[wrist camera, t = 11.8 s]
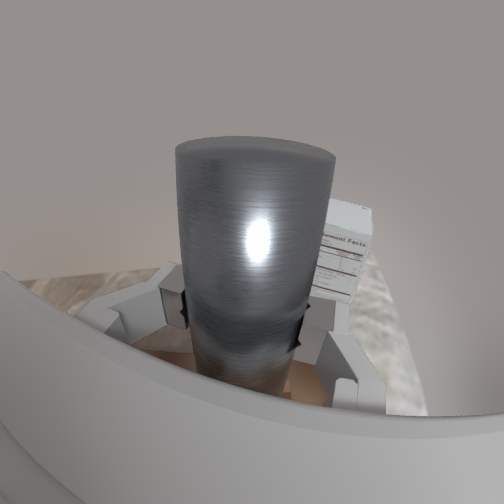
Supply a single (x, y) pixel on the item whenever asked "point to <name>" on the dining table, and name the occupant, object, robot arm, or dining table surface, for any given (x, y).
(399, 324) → the dining table surface
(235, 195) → the peg
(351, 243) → the supplement box
